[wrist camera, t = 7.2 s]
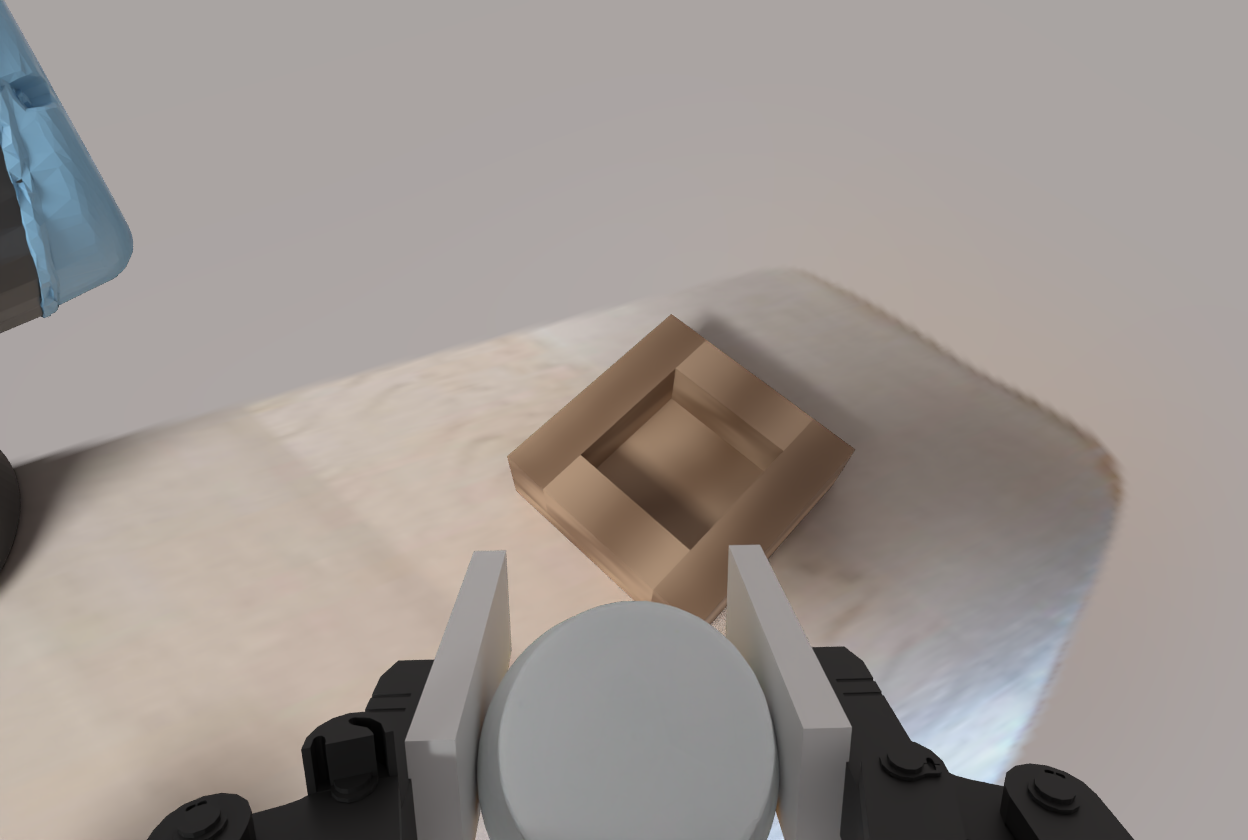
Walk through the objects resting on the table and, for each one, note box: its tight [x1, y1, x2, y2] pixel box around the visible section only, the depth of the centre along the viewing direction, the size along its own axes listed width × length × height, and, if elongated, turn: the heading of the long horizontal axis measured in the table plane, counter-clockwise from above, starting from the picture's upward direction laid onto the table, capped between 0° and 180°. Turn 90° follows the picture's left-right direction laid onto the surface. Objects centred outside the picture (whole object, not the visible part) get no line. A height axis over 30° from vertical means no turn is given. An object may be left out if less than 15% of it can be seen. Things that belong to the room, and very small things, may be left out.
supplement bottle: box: [477, 601, 780, 840], centre depth 15 cm, size 5×5×10 cm
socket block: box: [507, 314, 855, 624], centre depth 37 cm, size 12×12×4 cm
